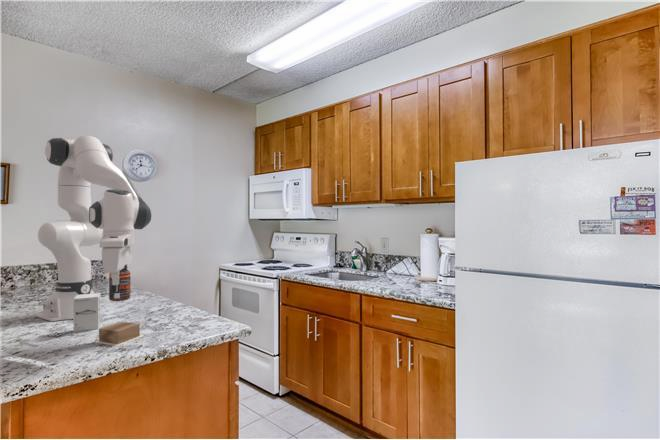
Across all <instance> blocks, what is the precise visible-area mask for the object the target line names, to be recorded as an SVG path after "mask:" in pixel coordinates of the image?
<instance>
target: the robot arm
mask: <svg viewBox="0 0 660 440" xmlns="http://www.w3.org/2000/svg"><path fill="white" fill-rule="evenodd" d="M44 154H45V157H46V160H47V162H48V163H49V164H51V165H54V166H58V167H59V169H58V170H59V171H58V175H57V177H58V178H57V204H58V206H59V208H61V209H62V210H64V211H66V212H67V213H68V215H69V217H70V219H69V220H68V219H67V220H53V221H49V222H45V223H43V224H42V225H41V226H40V227H39V229H38V230H37V239H38V241H39V243H40V244H41V245H42V246H43V247H44V248H46V249H48V250H49V251H50V252H51V253H52V255H53V256H54V259H55V261H56V264H57V276H58V277H57V279H58V281H57V282H55V283H54V287H55V288H54V292H53V293H51V295H49V296H47V298H46V299H45V300H44V301H43V303H42V311H39V312H37V313H35V314H34V316H35V317H36V318H39V319H42V320H46V321H49V322H55V321H64V320H74V298H75V297H76V295H82V294H95V292H94V290H93V289H92V288H93V287H94V282H93V281H94V280H93V279H92V262H91V260H90V258H88V257H86V256H84V255H83V254H82V253H81V251H80V247H90V246H94V245H98V244H99V248H102V249H101V261H102V270H103V272H104V273H105V274H107V273H108V274H110V273H111V278H112V284H113V285H119V284H120V279H119V273H120V270H122V269H124V267H125V265H126V264H127V267H129V266H131V265H132V264H133V247H132V246H134V245H135V240H136V239H135V235H136V234H135V230H139V231H140V230H143V229H145V228H146V227H147V226H148V225H149V224H150V223H151V220H152V211H151V208H150V206H149V205H148V203H146V202H145V201H144V199H142V197H141V195H140V193H139V192H138V190H137V188H136V187H135V186H134V183H133V182H132V181H131V179H130V178H129V176H128V175H127V174H126V172H124V171H123V170H121V169H120V168H119V167H117V166H116V165H115V164H114V163H113V159H114V153H113V150H112V148H111V147H110V146H109V145H108V144H104V143H102V142H101V140H100V139H99V138H97V137H95V136H92V135H81V136H79V137H77V138H76V139H73V138H72V139H69V138H63V137H55V138H50V139H49V140H47V143H46V145H45V148H44ZM92 184H93V185H97V186H102V187H106V188H108V189H107V190H105V191H104V192H103V197H102V199H101V200H97V201H95V202H93V203H92V187H91V186H92Z"/></svg>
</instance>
